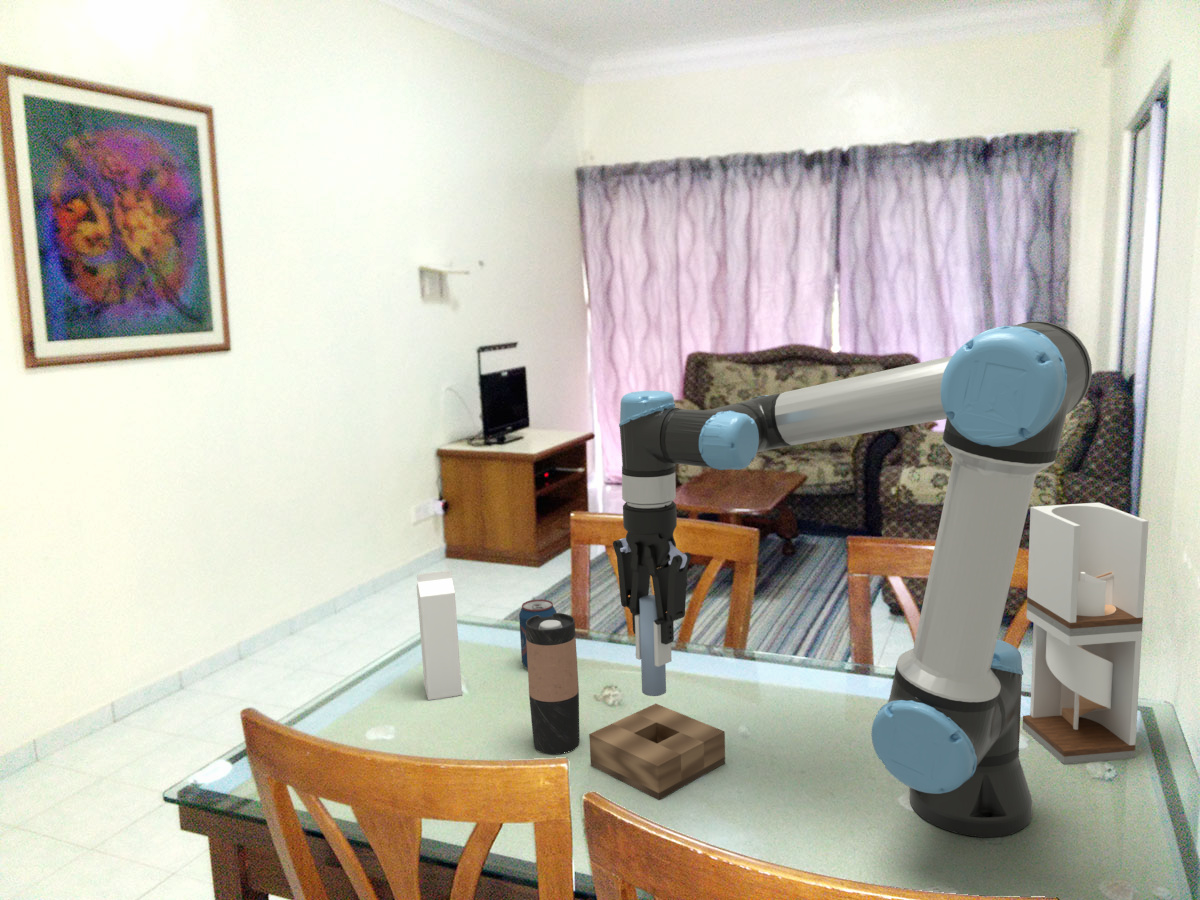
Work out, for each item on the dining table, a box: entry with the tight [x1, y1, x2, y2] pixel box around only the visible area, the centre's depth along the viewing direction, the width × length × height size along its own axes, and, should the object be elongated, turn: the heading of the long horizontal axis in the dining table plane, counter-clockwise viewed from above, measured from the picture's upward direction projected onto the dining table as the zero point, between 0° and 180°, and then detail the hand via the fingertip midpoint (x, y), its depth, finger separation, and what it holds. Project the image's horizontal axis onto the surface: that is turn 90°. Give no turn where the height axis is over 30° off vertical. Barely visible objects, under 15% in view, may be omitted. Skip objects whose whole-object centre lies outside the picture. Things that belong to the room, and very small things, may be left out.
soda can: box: [518, 599, 558, 670], centre depth 181 cm, size 7×7×12 cm
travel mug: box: [526, 612, 580, 755], centre depth 150 cm, size 8×8×20 cm
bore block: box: [588, 703, 726, 801], centre depth 143 cm, size 14×14×5 cm
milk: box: [416, 569, 463, 701], centre depth 171 cm, size 6×6×22 cm
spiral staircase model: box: [1021, 502, 1150, 765], centre depth 142 cm, size 11×11×35 cm
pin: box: [639, 594, 667, 697], centre depth 141 cm, size 4×4×14 cm
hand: (653, 659), depth 141 cm, fingers closed on pin, 3 cm apart
